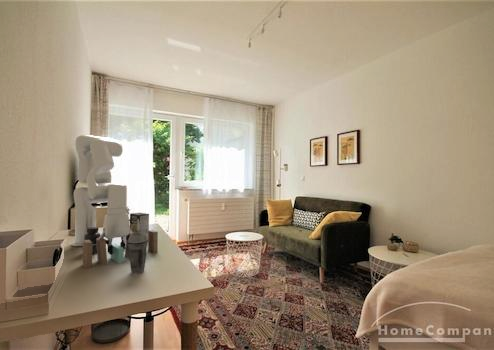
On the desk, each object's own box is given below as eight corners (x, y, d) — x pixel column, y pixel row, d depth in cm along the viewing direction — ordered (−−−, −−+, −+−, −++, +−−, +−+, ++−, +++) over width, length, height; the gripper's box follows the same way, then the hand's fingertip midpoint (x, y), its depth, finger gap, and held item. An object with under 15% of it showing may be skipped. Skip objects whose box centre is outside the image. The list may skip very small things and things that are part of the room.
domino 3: (124, 255, 111) (126, 233, 112) (129, 254, 112) (131, 233, 113) (129, 258, 107) (131, 235, 107) (134, 257, 108) (136, 235, 109)
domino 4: (148, 250, 119) (148, 230, 119) (152, 249, 120) (152, 229, 120) (153, 253, 115) (153, 232, 115) (157, 252, 116) (157, 231, 116)
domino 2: (97, 261, 103) (96, 238, 102) (102, 259, 104) (101, 237, 104) (101, 264, 99) (100, 241, 98) (107, 263, 100) (105, 239, 100)
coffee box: (129, 242, 135) (129, 213, 135) (139, 239, 140) (139, 212, 141) (138, 244, 130) (139, 214, 130) (149, 241, 135) (149, 213, 136)
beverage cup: (127, 276, 87) (128, 221, 87) (127, 269, 93) (127, 218, 94) (148, 273, 90) (149, 220, 90) (147, 266, 97) (147, 217, 97)
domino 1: (82, 264, 99) (83, 240, 99) (88, 263, 100) (88, 239, 101) (86, 268, 95) (86, 243, 95) (92, 267, 96) (92, 242, 96)
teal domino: (118, 263, 101) (110, 257, 108) (123, 262, 102) (115, 256, 109) (118, 249, 101) (110, 244, 108) (123, 248, 103) (115, 243, 109)
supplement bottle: (91, 255, 111) (92, 229, 111) (79, 254, 112) (80, 228, 113) (103, 251, 118) (103, 226, 118) (91, 250, 119) (92, 226, 119)
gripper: (133, 209, 115) (132, 247, 114) (92, 212, 102) (92, 255, 102) (139, 210, 109) (139, 250, 109) (97, 214, 97) (97, 259, 97)
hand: (116, 252), depth 106 cm, fingers open, 4 cm apart
